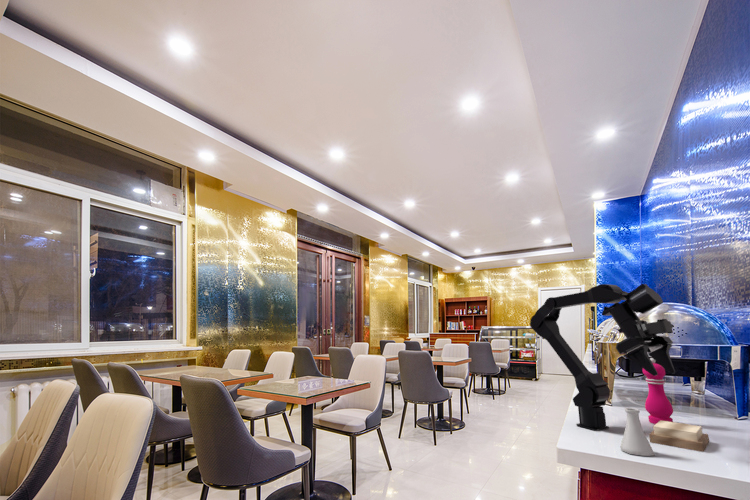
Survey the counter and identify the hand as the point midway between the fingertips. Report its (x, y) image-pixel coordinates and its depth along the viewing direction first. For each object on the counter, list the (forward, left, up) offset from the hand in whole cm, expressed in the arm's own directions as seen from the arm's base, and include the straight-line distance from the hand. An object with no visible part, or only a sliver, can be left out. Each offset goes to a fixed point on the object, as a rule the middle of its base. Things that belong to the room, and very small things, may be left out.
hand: (664, 374), depth 101 cm
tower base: (-2, +5, -18) cm, 19 cm away
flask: (-2, -13, -18) cm, 22 cm away
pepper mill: (-16, +22, -18) cm, 32 cm away
